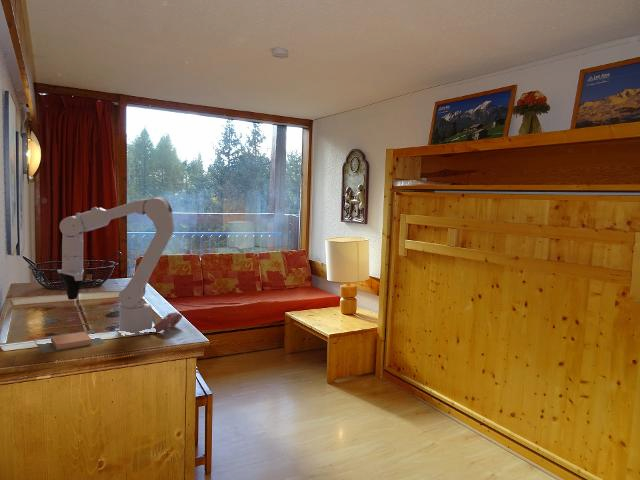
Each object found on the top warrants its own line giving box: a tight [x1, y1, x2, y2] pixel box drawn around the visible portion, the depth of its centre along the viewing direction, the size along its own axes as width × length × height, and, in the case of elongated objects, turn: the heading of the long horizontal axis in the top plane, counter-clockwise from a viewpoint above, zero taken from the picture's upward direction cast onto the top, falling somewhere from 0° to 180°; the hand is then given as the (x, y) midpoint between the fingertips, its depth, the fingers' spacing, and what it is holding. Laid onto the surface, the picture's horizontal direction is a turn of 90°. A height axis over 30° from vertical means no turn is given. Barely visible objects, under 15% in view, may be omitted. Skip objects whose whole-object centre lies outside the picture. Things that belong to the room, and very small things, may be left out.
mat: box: [33, 329, 106, 354], centre depth 135 cm, size 16×13×1 cm
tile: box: [51, 331, 92, 350], centre depth 134 cm, size 9×2×7 cm
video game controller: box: [152, 311, 183, 334], centre depth 152 cm, size 10×5×7 cm, turn 165°
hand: (72, 298), depth 143 cm, fingers closed
